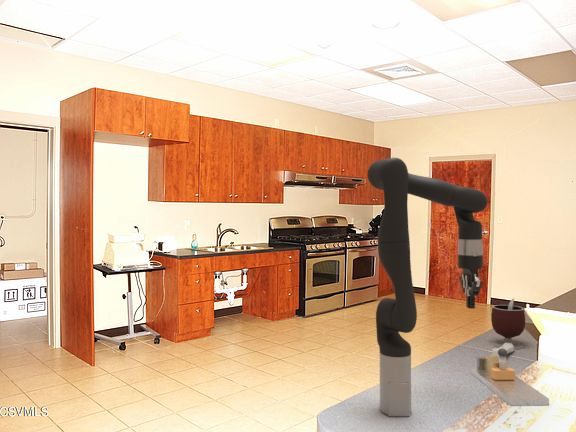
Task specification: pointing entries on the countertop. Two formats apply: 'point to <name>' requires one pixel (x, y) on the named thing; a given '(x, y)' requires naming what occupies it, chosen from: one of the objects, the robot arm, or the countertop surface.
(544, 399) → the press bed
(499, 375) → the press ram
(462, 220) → the robot arm
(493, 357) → the block
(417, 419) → the countertop surface
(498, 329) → the mate gourd
